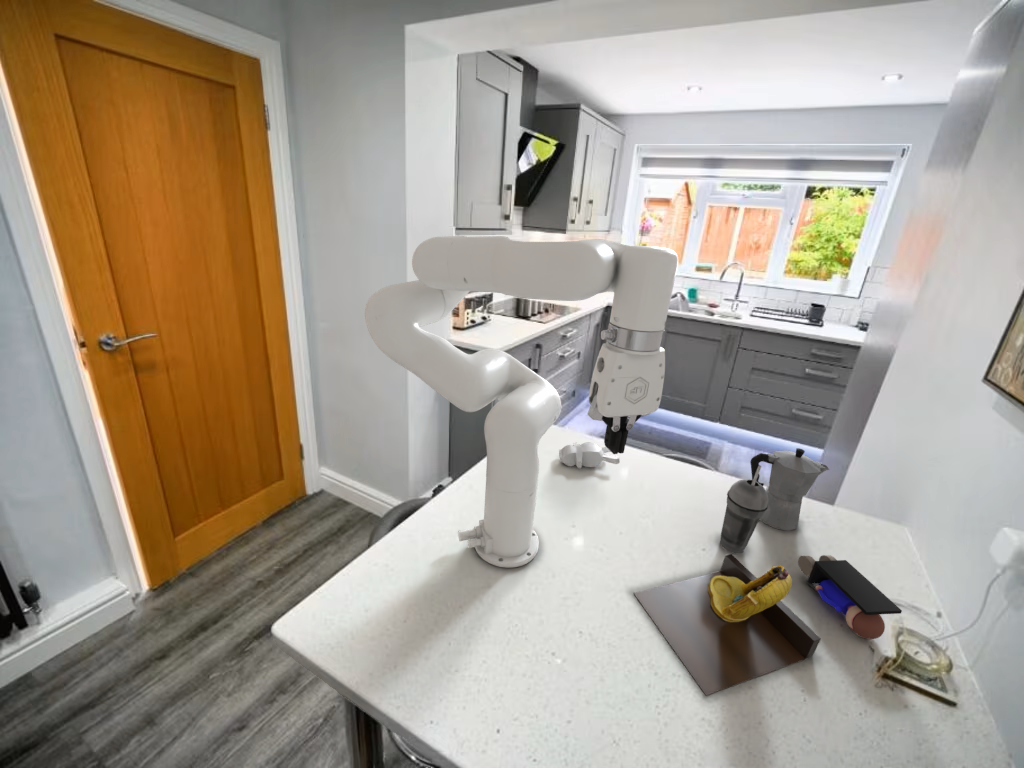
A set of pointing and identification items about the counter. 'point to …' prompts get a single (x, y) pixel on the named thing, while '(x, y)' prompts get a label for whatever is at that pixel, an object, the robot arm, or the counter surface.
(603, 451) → the bunny figurine
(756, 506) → the beverage cup
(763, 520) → the coffeepot
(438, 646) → the counter surface
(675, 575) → the counter surface
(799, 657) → the dark wood ledge tray
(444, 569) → the counter surface
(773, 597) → the yellow ribbed curl ornament
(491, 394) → the robot arm
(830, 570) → the figurine character
